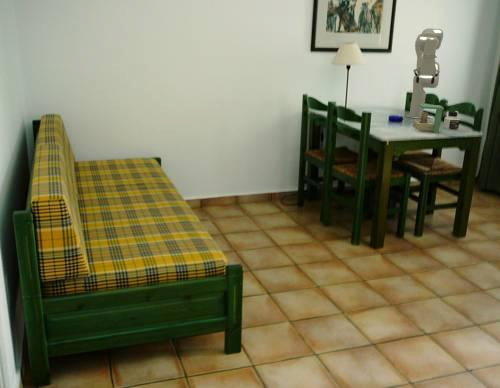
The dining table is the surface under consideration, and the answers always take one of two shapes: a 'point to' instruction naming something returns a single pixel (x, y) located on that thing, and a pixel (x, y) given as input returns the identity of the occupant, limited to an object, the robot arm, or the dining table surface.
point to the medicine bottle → (451, 121)
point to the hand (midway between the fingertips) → (424, 83)
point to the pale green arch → (437, 115)
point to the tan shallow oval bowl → (423, 126)
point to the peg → (424, 117)
